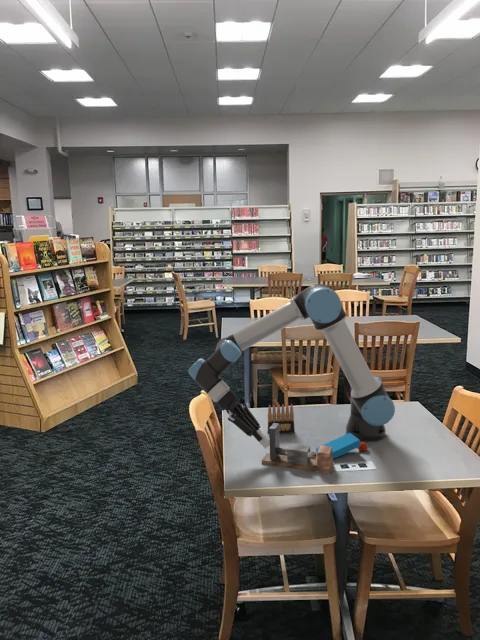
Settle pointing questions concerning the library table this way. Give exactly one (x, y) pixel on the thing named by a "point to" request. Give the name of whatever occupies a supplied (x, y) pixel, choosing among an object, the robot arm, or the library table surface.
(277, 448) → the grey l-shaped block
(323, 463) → the wooden bar with block
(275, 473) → the library table surface
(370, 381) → the robot arm
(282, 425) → the ammunition clip
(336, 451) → the blue block
